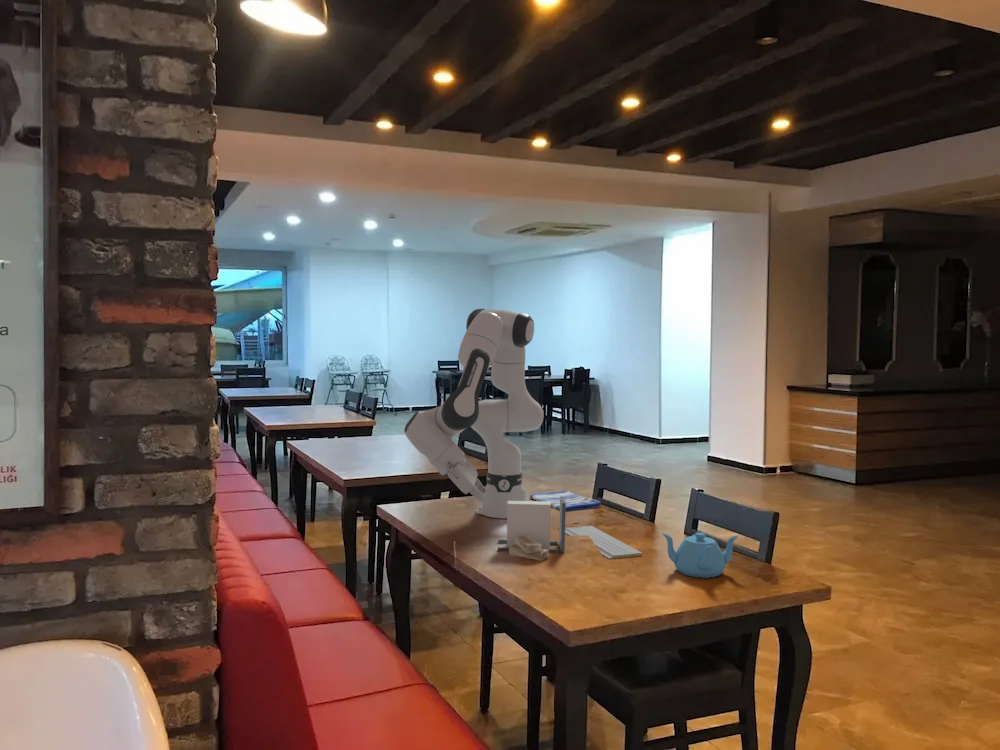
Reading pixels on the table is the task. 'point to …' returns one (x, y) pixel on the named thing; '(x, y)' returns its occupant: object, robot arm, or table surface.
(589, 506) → the dish towel
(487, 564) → the table surface
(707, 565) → the teapot
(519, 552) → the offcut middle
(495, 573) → the table surface
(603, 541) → the baseboard molding
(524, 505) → the off-white wooden block
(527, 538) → the offcut top
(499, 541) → the rack
